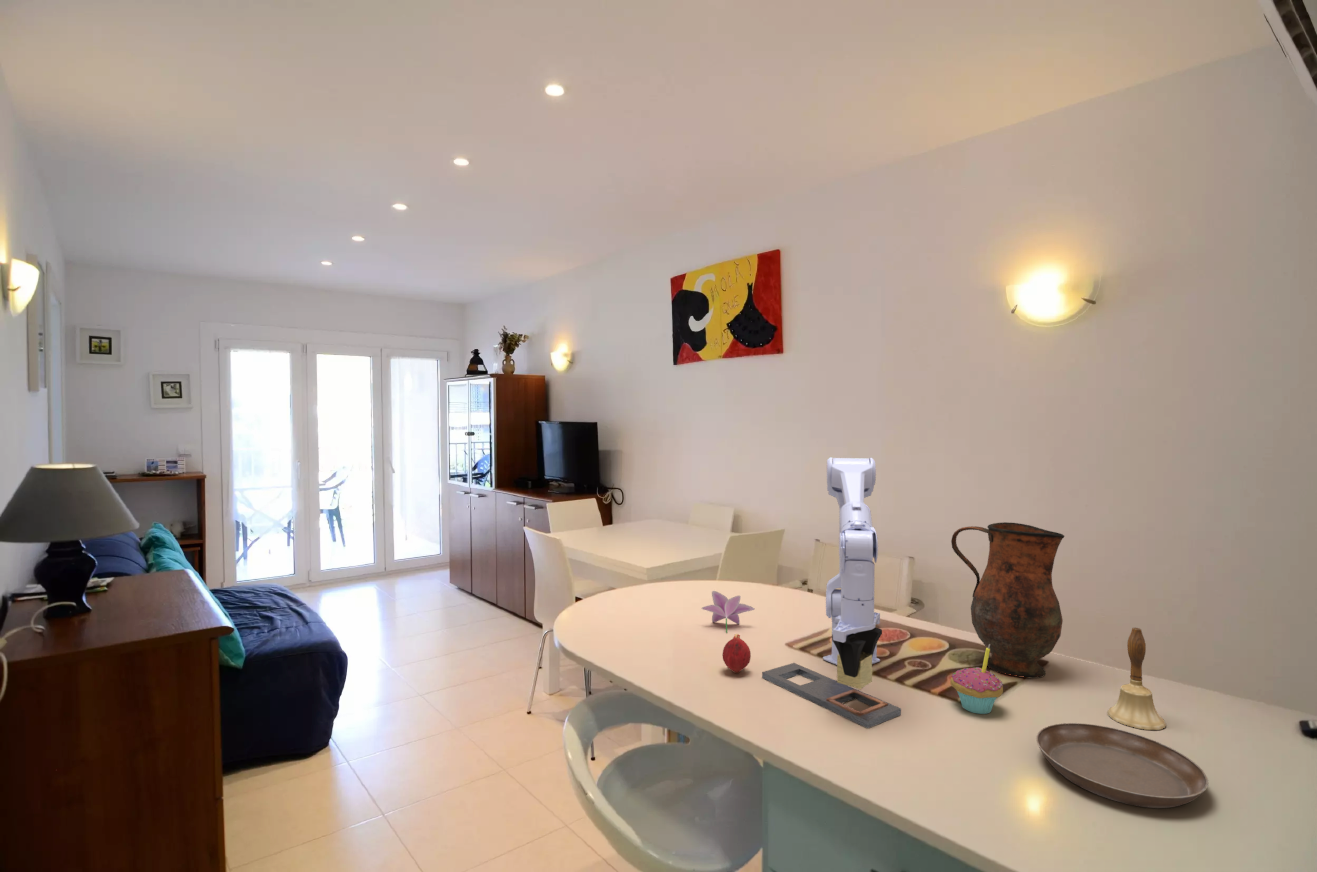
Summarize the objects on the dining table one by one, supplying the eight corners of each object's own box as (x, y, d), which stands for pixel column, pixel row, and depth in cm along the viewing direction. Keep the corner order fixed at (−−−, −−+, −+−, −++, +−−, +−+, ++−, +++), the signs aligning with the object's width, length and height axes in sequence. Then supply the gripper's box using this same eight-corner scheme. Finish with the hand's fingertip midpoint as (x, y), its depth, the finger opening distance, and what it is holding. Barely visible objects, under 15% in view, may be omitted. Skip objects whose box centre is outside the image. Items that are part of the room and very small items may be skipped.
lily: (761, 634, 163) (757, 595, 168) (737, 626, 155) (734, 586, 159) (719, 640, 169) (716, 603, 174) (694, 634, 161) (692, 594, 165)
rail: (793, 668, 138) (794, 661, 138) (900, 714, 117) (901, 706, 117) (762, 677, 133) (762, 670, 133) (867, 728, 112) (867, 720, 112)
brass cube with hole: (848, 675, 122) (848, 648, 122) (871, 681, 119) (872, 653, 119) (837, 682, 119) (837, 654, 119) (860, 689, 116) (860, 660, 116)
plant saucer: (1210, 773, 98) (1211, 751, 98) (1204, 840, 82) (1204, 814, 82) (1052, 729, 112) (1052, 710, 112) (1021, 780, 96) (1021, 757, 96)
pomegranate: (749, 679, 132) (749, 639, 132) (721, 676, 134) (721, 637, 133) (751, 668, 138) (751, 630, 138) (724, 666, 139) (724, 628, 139)
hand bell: (1096, 713, 117) (1098, 624, 117) (1126, 705, 120) (1128, 619, 120) (1146, 734, 109) (1148, 639, 109) (1177, 725, 113) (1179, 632, 112)
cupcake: (998, 702, 122) (999, 637, 121) (1006, 722, 114) (1007, 653, 113) (948, 695, 125) (948, 632, 124) (952, 715, 117) (953, 648, 116)
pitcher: (1056, 692, 126) (1059, 536, 125) (939, 666, 139) (941, 525, 138) (1067, 666, 139) (1069, 524, 138) (959, 644, 152) (961, 515, 151)
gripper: (855, 585, 127) (854, 655, 127) (817, 600, 116) (816, 676, 116) (891, 591, 122) (890, 664, 122) (854, 608, 111) (854, 688, 111)
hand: (857, 671), depth 119 cm, fingers closed on brass cube with hole, 4 cm apart
